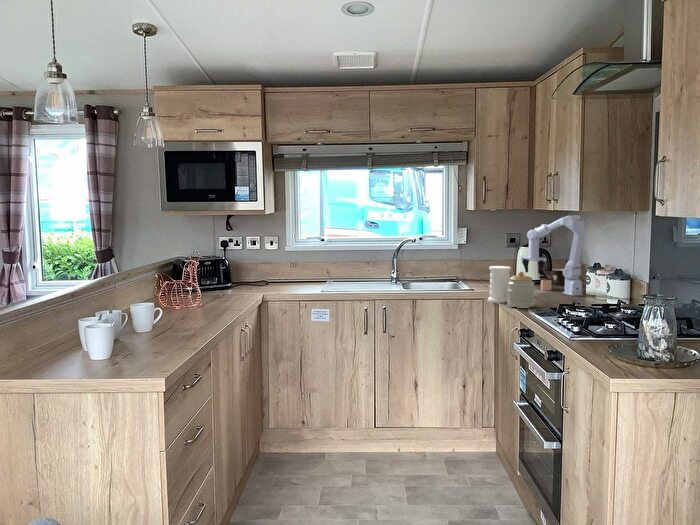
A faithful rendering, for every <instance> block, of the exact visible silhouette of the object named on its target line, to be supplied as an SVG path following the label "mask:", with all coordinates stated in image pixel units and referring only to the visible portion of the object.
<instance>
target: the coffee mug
mask: <svg viewBox="0 0 700 525" xmlns="http://www.w3.org/2000/svg"><path fill="white" fill-rule="evenodd" d="M563 270H564V268H552V270H550V272H549V275H550V276H549V277H550V278H552V281H553V286H555V287H556V286H558V287H565V277H564V275H563Z"/></svg>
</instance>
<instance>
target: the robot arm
mask: <svg viewBox="0 0 700 525" xmlns="http://www.w3.org/2000/svg"><path fill="white" fill-rule="evenodd" d="M561 226H565V227H566V228H568V229H569V230H571V232H573V238H572V242H571V248H570V253H569V257H568V261H567V263H566V264H565V267H564V268H563V269H564V270H563V275H564V277H565V286H564V291H561V293H562V294H565V295H568V296H570V295H571V296H572V297H573V296H584V294H583V282H582V280H580V276H581V274H582V268H581V267H582V264H581V263H580V260H581V254H582V251H583V250H582V249H583V244H584V240H585V234H586V228H585V224H584V219H583V218H582V217H581V216H580V215H579V214H575V215H566V216H564V217H563V216H562V217H560V218H559V219H557V220H555V221H552V223H549V224H545V223H542V224H541V225H540V226H539V227H535V228H534V229H529V231H527V233H526V235H527V238H528V255H527V256H520V261H521V263H522V265H523V267H524V270H525V273H529V262H530V261H531V262H532V261H533V262H534V261H536V262H537V267H538V269H537V274H538V275H539V274H541V272H542V270H543V267H544V265H545V263H546V262H547V258H546V257H539V255H540V254H539V253H540V252H539V251H540V250H539V249H540V239H541V238H542V237H544V236H546V235H548V234H550V233H551V232H552V230H555V229H557V228H559V227H561Z"/></svg>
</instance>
